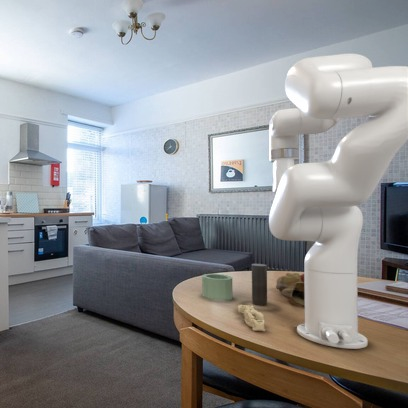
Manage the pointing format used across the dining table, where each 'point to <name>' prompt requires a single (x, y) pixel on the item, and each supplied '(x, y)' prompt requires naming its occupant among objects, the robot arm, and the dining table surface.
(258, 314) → the beige lumpy bar
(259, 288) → the peg
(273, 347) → the dining table surface
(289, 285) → the figurine
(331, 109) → the robot arm
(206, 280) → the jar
